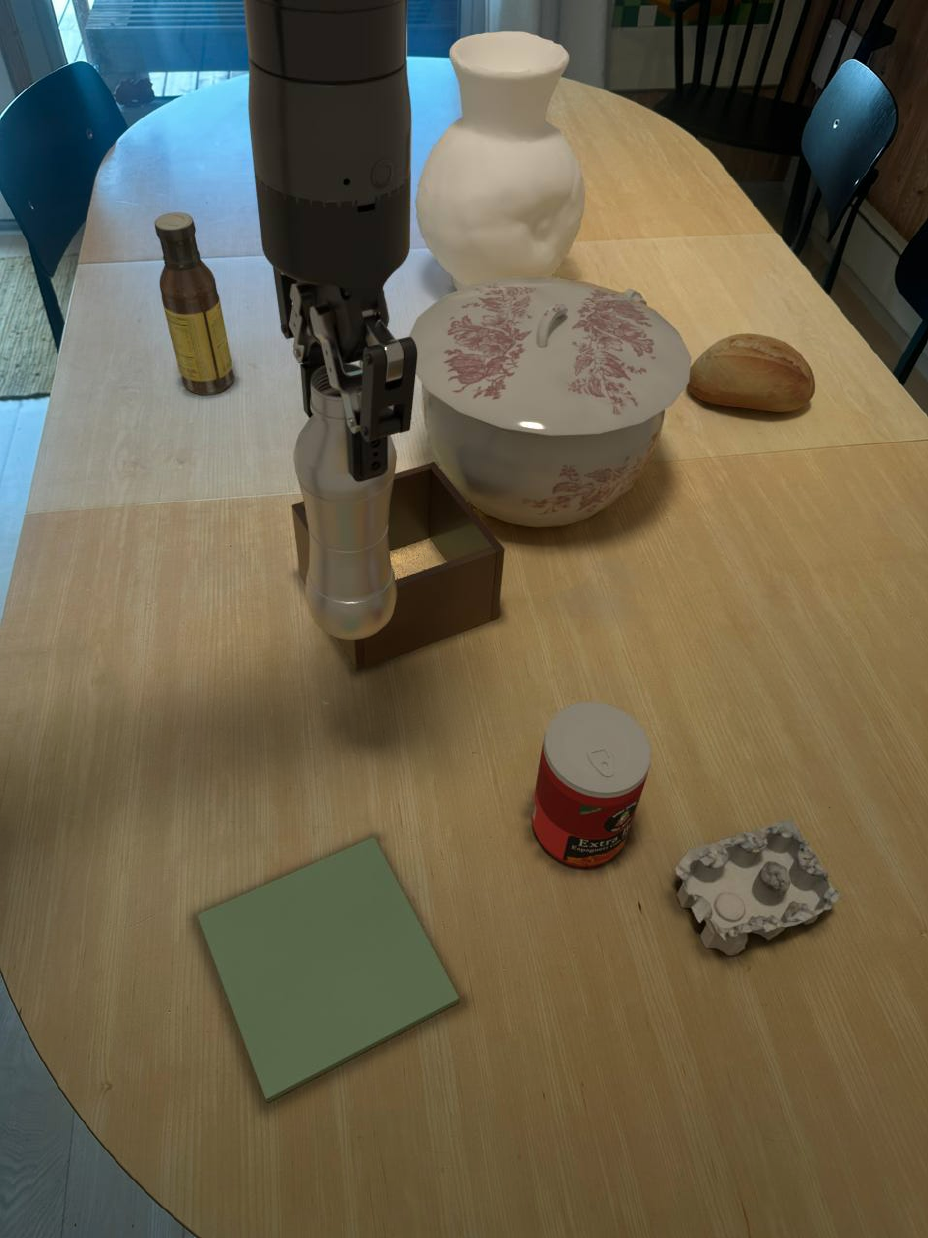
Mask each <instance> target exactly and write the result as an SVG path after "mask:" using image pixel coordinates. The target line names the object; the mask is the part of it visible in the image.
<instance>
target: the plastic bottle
mask: <svg viewBox="0 0 928 1238" xmlns="http://www.w3.org/2000/svg"><path fill="white" fill-rule="evenodd" d="M342 365H343V369H344V372H345V373H350V372H354V371H358V370H362V369H361V368H360V365H359V364H356V363H348V364H343V363H342ZM361 392H362V387H361V388H359V389H358V391H357V397H358V402H359V407H360V408H361ZM310 407H311V411H312V413H313V415H312V416H311V418H308V420H307V421H306V423H305V424H304V426H303V427H302V429H301V430H300V432H299V434H298V435H297V438H296V440H295V444H294V449H293V454H292V455H293V456H292V460H293V465H294V466H293V467H294V471H295V474H296V478H297V481H298V485H299V489H300V493H301V496H302V500H303V501H304V504H305V510H306V517H307V523H308V530H309V536H310V553H309V569H308V573H307V579H306V584H305V595H304V596H305V597H304V598H305V601H306V605H307V608H308V610H309V613H310V617H311V618H312V620H313V622H314V624H316V625H317V626H318V627H319V628H320V629H321V630H323V631H324V632H326V633H327V634H328V635H329V636H333V637H334V638H336V639H337V638H340V639H346V640H358V639H363V638H366V637H369V636H371V635H373V634H375V633H377V632H378V631H379V630H380V629H382V628H383V627H384V626H385V625H386V624H387V623H388V622H389V620H390V619H391V617H392V615H393V612H394V608H395V604H396V599H397V586H396V580H397V579H396V575H395V571H394V568H393V565H392V560H391V551H390V550H389V541H388V521H389V507H390V499H391V493H392V487H393V481H394V476H395V473H396V470H397V461H398V460H397V459H398V456H397V450H396V446H395V443H394V440H393V437H392V435H389V436H388V469H387V471H386V473H385V474H383V475H381V476H378V477H375V478H372V479H368V480H365V481H362V482H357V481H355V480H354V478H353V477H352V476H351V474H350V473H349V465H348V441H347V419H346V414H345V409H344V405H343V400H342V396H341V393H340V392H339V391H338V390H335V389H333V388H332V387H331V385H330V382H329V377H328V373H327V368H326V365H325V366H322V367H320V368H318V369H317V370H316V371H315V372H314V373H313V374H312V377H311V398H310Z"/></svg>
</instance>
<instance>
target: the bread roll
mask: <svg viewBox="0 0 928 1238" xmlns="http://www.w3.org/2000/svg"><path fill="white" fill-rule="evenodd" d="M815 380H816V379H815V375H814V373H813V370H812V368H811V366H810V364H809V362H807V360H806V359H805V357H804V355H803V354H802V353H801V352H799V351H798V350H797V349H795V348H794V347H793V346H791V345H790V344H789V343H787V342H785V341H783V340H781V339H779V338H776V337H772V336H769V335H764V334H758V333H750V332H749V333H747V332H746V333H737V334H731V335H729V336H726V337H724V338H722V339H720V340H718V341H716V342H715V343H713V344H712V345H710V346H709V347H708V348H707V349H706V350H704V352H703V353H701V354H700V355H699V357H697V358H696V360H695V361H694V362H693V363H692V364H691V367H690V379H689V383H688V385H687V388H688V389H689V390H690V392H691V393H692V394H693V396H694V397H695V398H697V399H699V400H701V401H703V402H706V403H709V404H715V405H721V406H728V407H737V408H743V409H752V410H758V411H763V412H764V411H765V412H776V413H780V412H781V413H784V412H792V411H795V410H798V409H800V408H802V407H804V406H806V405H807V404H809V403H810V401H811V400H812V398H813V397H814V395H815V392H816V391H815V390H816V382H815Z"/></svg>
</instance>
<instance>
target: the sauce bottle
mask: <svg viewBox="0 0 928 1238" xmlns="http://www.w3.org/2000/svg"><path fill="white" fill-rule="evenodd" d="M154 229H155V234H156V236H157V238H158V239H159V242H160V247H161V251H162V259H163V263H164V266H163V268H162V271H161V273H160V277H159V290H160V295H161V296H160V297H161V302H162V306H163V310H164V315H165V318H166V323H167V326H168V332H169V336H170V340H171V344H172V347H173V351H174V356H175V360H176V364H177V369H178V371H179V374H180V375H181V380H182V384H183V386H184V387H185V388H186V389H187V390H188V391H190V392H191V393H195V394H198V395H204V396H205V395H212V394H217V393H220V392H222V391H224V390H226V389H227V388H229V386H230V385H231V384H232V383H233V381H234V372H233V368H232V367H233V361H232V356H231V355H232V354H231V351H230V346H229V345H230V344H229V340H228V334H227V329H226V324H225V319H224V314H223V310H222V309H223V308H222V303H221V298H220V295H219V293H218V289H217V283H216V278H215V275H214V274H213V272H212V271H211V269H210V268H209V266H207V264H205V262H204V261H203V260H202V259H201V252H200V251H199V248H198V243H197V237H196V232H197V229H196V224H195V220H194V218H193V217H192V215H190V214H189V213H186V212H181V211H177V212H175V211H174V212H167V213H165V214H162V215H160V216H158V218H156V219H155V220H154Z"/></svg>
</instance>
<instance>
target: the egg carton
mask: <svg viewBox="0 0 928 1238" xmlns="http://www.w3.org/2000/svg"><path fill="white" fill-rule="evenodd" d="M674 869H675V874H676V875H677V876H678V877H679V878H680V879H681V882H682V884H681V886H680V888H679V890H678V892H677V895H676V896H677V899H678V901H679V904H680V907H681V908H682V909H686V908H688V909H691V910H692V913H693V914H694V917H695V919H696V920H697V922H698V923H699V924H701V923H702V921H705V925H704V928H703V930H702V932H701V934H700V935H699V936H700V940H701V942H702V944H703V946H704V947H705V948H706V949H717V950H719V951H721V952H723V953H724V954H725V955H727V956H735V955H738V954H739V953H740V952H742V951H743V950H745V949H746V944H747V943H748V939H749V936H748V934H750V933H753V934H755V935H756V934H757V935H759V936H761V937H763V938H765V939H766V940H767V941H770V940H771V939H773V938H774V937H776V936H779V935H780V933H782V932H783V931H784V930H785V928H788V927H794V926H797V925H799V924H804V925H805V926H806V925H810V924H813V923H815V922H816V920H817V919H818V916H819V915H820V914H821V913H823V912H824V911H828V910H831V909H832V908H833V906H834V904H835V903H836V902H838V901H840V900H841V898H842V896H841V893H840V892H839V890H837V889H835V888H834V886H833V885H832V883H831V881H830V879H829V874H828V873H829V872H828V871H827V870H826V869H825V868H823V867H822V865H821V863H820V861H819V858H818V856H817V855H816V854H815V853H814V851H813V849H812V847H811V844H810V842H808V841H807V840H805V839H804V838H803V836H802V833H801V831H800V829H799V827H798V826H797V824H796V822H795V821H794V819H793V818H786V819H783V820H780V821H778V822H775V823H771V824H769V825H767V826H765V827H763V828H756V829H754V830H752V831H749V832H748V831H742V832H740V833H738V834H735V835H733V836H730V837H726V838H722V839H720V840H718V841H715V842H710V843H707V844H702V845H698V846H695V847H693V848H691V849H690V850H688V851H687V852H686V853H685V855H684V856H683V858H682V859H681V860H680V861H679V863H678V864H677V865H676V866H675V867H674Z"/></svg>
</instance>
